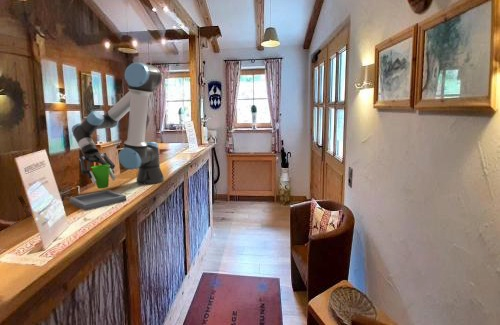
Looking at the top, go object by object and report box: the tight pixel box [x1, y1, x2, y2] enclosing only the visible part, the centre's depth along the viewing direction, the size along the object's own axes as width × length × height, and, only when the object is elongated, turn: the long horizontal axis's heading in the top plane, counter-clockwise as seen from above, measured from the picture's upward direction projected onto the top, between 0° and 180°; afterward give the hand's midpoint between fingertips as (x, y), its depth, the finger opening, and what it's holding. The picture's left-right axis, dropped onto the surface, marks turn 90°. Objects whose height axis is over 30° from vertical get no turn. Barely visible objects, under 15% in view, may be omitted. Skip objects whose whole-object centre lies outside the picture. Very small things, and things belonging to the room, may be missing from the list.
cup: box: [90, 164, 110, 189], centre depth 166 cm, size 9×9×11 cm
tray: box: [69, 189, 127, 212], centre depth 147 cm, size 18×18×2 cm
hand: (104, 180), depth 164 cm, fingers closed on cup, 9 cm apart
